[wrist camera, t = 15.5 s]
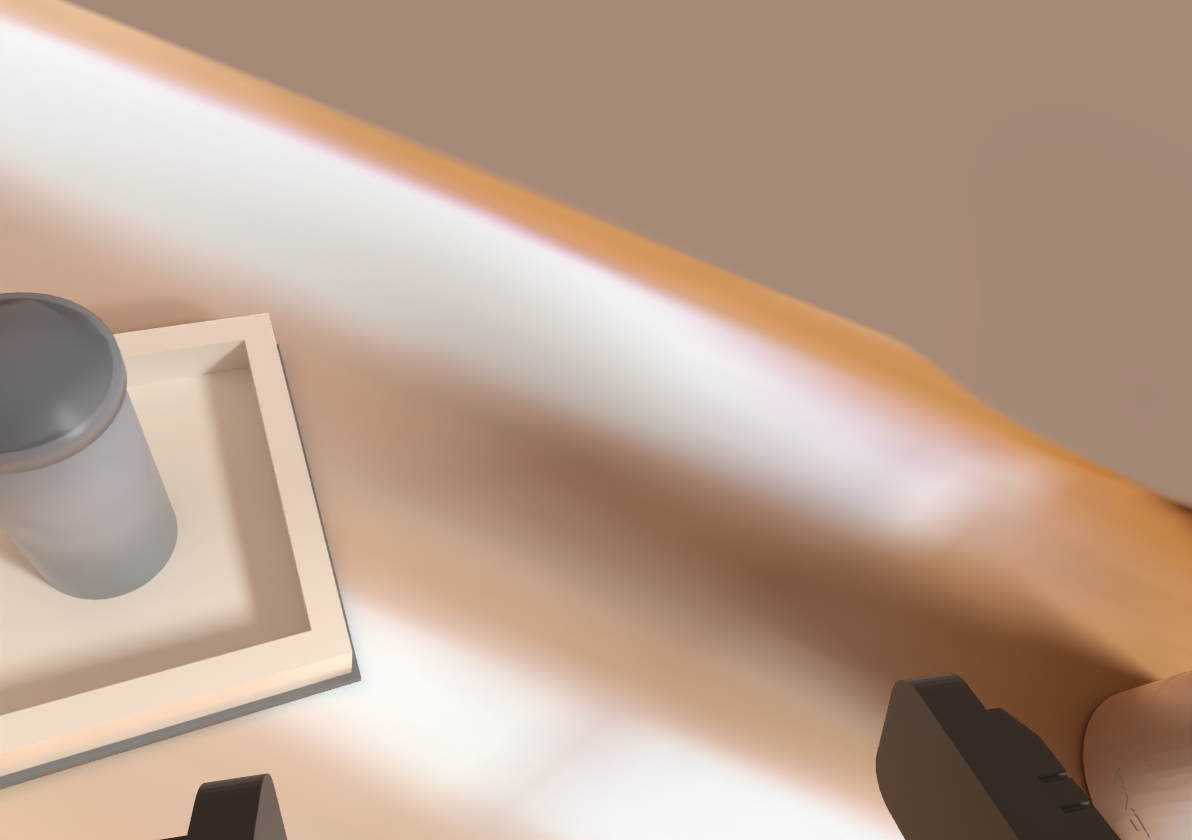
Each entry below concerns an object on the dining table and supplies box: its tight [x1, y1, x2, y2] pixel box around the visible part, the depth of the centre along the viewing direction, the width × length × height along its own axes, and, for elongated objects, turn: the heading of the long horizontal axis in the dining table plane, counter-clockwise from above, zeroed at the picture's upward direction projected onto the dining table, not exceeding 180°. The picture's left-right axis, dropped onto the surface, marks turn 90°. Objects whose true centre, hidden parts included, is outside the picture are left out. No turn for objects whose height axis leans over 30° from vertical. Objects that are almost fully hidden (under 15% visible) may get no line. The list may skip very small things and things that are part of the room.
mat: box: [0, 344, 361, 789], centre depth 35 cm, size 16×16×1 cm
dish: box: [0, 312, 353, 777], centre depth 34 cm, size 15×15×3 cm
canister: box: [0, 292, 178, 600], centre depth 29 cm, size 5×5×12 cm
